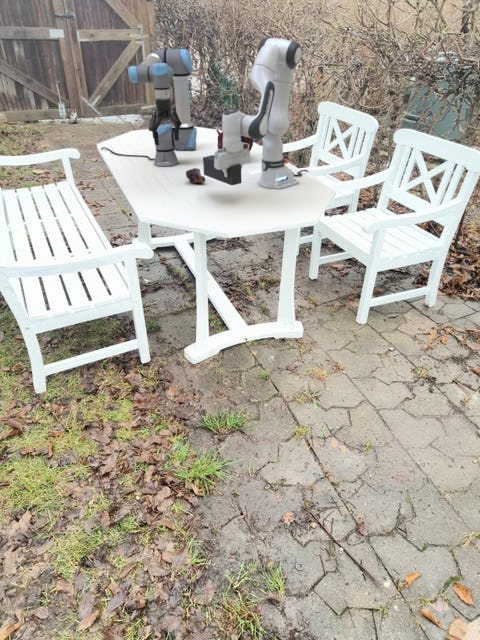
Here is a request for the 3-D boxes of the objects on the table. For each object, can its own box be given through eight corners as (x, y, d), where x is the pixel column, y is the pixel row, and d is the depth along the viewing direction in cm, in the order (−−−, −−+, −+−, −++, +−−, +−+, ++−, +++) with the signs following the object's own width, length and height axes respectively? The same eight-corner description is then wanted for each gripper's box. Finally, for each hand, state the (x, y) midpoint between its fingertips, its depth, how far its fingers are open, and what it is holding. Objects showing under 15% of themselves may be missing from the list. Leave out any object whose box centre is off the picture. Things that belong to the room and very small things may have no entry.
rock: (199, 181, 267) (183, 183, 263) (197, 166, 264) (182, 168, 259) (207, 183, 258) (191, 185, 254) (206, 167, 254) (189, 169, 250)
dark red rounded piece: (214, 132, 305) (214, 129, 282) (248, 124, 304) (250, 121, 281) (221, 164, 312) (221, 164, 288) (254, 157, 311) (257, 156, 288)
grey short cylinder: (196, 150, 320) (194, 121, 309) (171, 151, 319) (168, 122, 308) (196, 145, 335) (194, 116, 324) (172, 145, 334) (169, 117, 322)
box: (203, 174, 237) (202, 157, 232) (213, 172, 240) (212, 155, 235) (232, 185, 222) (231, 167, 217) (241, 183, 225) (241, 164, 220)
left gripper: (147, 102, 217) (152, 148, 229) (186, 96, 232) (189, 139, 244) (138, 100, 221) (143, 145, 233) (176, 94, 236) (180, 137, 248)
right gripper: (218, 151, 208) (219, 181, 216) (252, 143, 219) (252, 172, 227) (210, 148, 212) (212, 178, 220) (243, 141, 223) (243, 169, 231)
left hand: (167, 142), depth 238 cm, fingers open, 13 cm apart
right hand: (232, 175), depth 223 cm, fingers closed on box, 6 cm apart
